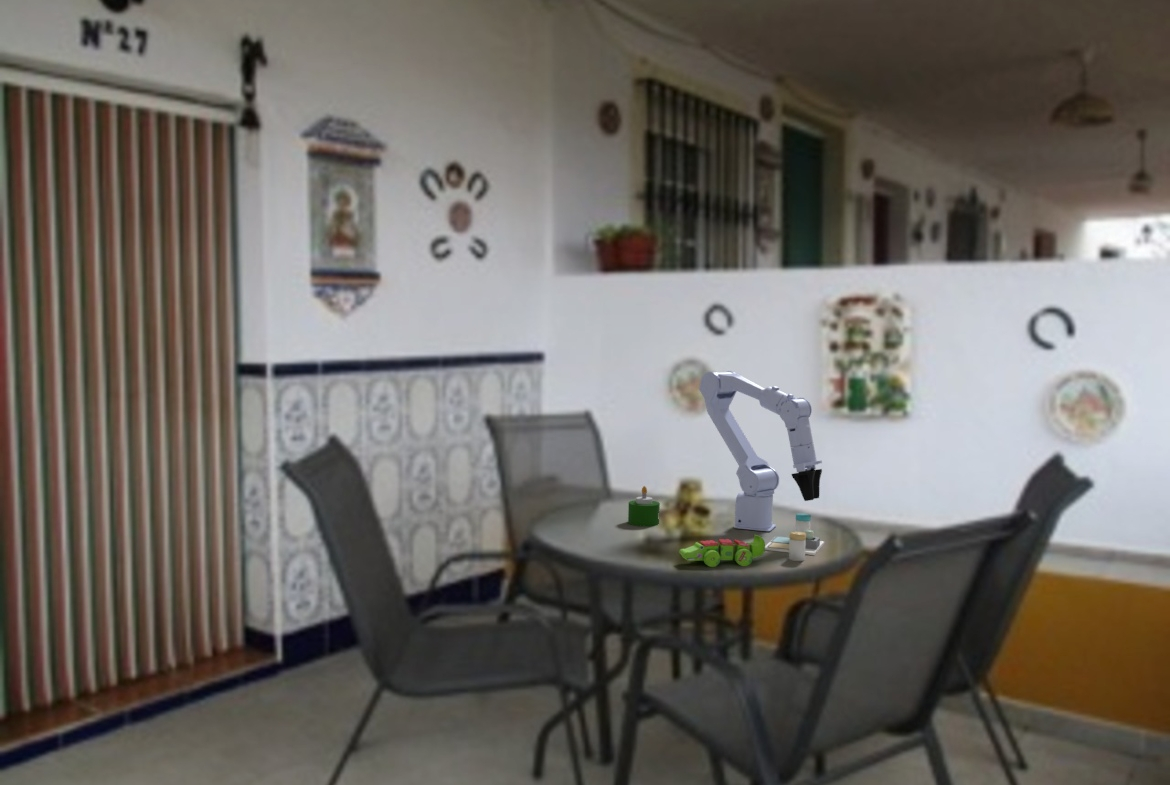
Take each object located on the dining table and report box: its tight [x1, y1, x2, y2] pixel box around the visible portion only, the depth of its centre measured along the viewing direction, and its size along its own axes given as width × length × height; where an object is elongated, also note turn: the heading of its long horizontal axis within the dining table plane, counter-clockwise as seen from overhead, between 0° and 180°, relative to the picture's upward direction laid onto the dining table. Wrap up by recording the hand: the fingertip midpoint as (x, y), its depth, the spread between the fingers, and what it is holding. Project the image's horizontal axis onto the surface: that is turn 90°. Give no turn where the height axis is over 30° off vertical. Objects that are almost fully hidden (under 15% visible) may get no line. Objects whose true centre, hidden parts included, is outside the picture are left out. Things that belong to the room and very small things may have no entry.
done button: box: [805, 529, 814, 540], centre depth 238 cm, size 2×2×2 cm
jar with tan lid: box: [788, 531, 806, 562], centre depth 229 cm, size 4×4×6 cm
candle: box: [627, 485, 661, 527], centre depth 265 cm, size 8×8×10 cm
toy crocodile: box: [678, 534, 766, 568], centre depth 224 cm, size 20×7×6 cm, turn 100°
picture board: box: [765, 535, 825, 556], centre depth 241 cm, size 12×13×3 cm
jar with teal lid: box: [794, 512, 812, 533], centre depth 250 cm, size 4×4×6 cm
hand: (812, 499), depth 249 cm, fingers open, 7 cm apart
